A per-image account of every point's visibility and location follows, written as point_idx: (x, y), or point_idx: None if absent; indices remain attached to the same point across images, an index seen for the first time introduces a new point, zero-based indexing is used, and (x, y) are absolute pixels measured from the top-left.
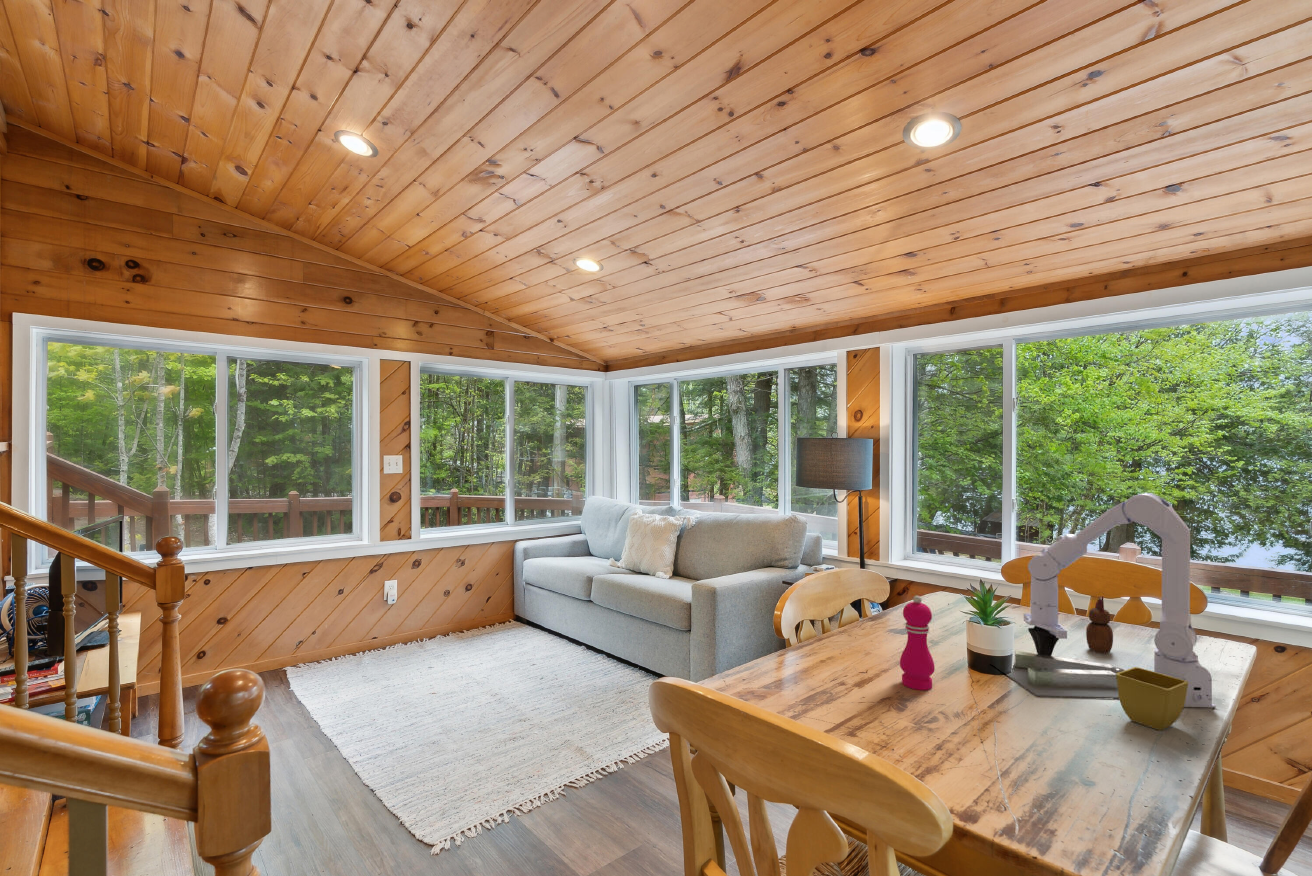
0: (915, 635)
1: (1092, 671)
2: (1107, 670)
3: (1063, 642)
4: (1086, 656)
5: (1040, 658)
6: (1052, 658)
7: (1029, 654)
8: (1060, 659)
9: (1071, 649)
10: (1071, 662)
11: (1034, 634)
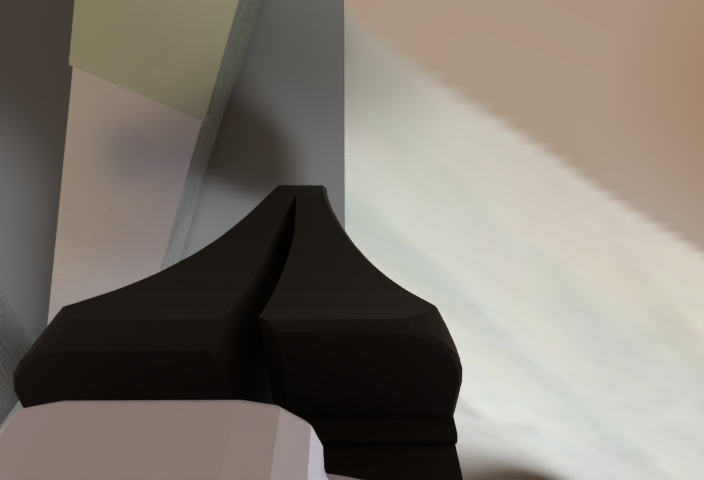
0: None
1: None
2: None
3: (694, 462)
4: (491, 451)
5: (73, 115)
6: (85, 225)
7: (137, 35)
8: (85, 276)
9: (595, 447)
10: (51, 317)
11: (234, 300)
